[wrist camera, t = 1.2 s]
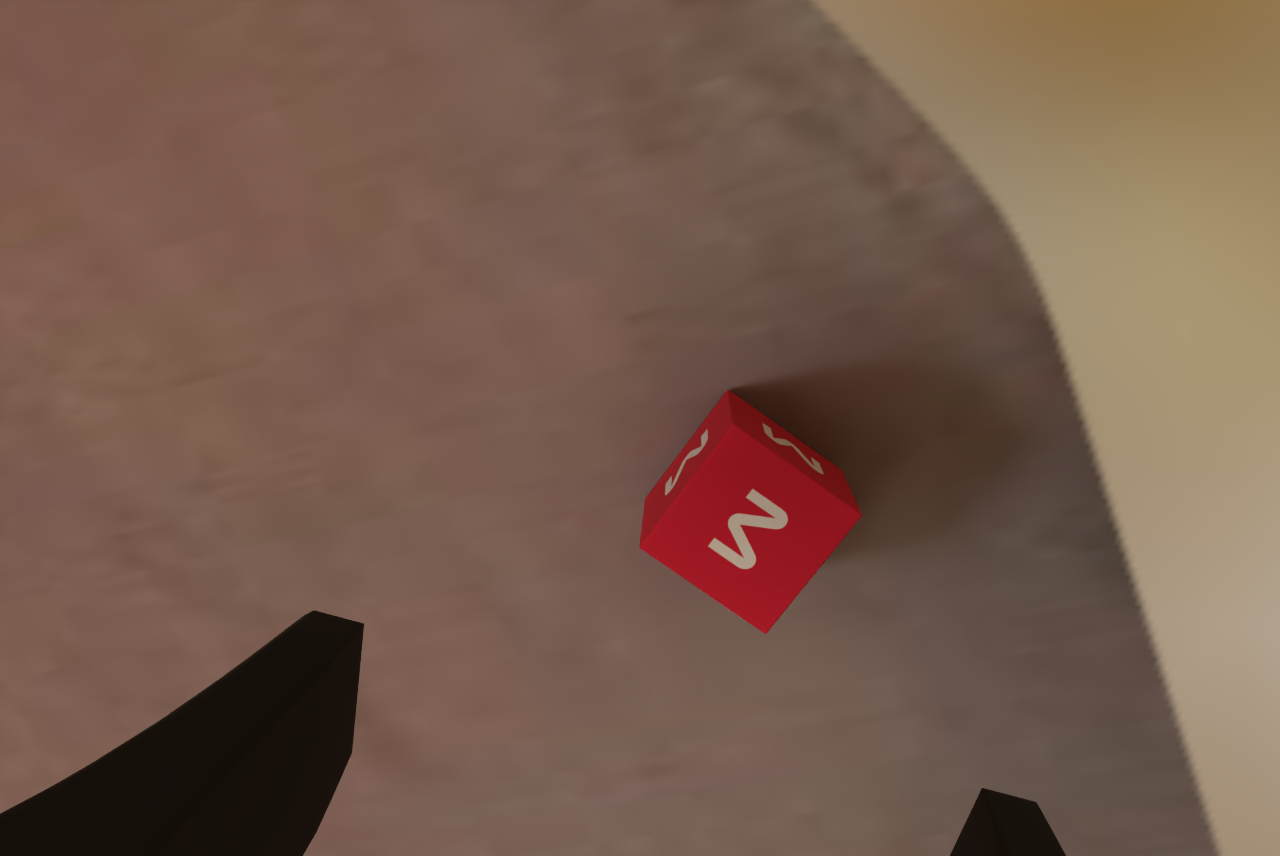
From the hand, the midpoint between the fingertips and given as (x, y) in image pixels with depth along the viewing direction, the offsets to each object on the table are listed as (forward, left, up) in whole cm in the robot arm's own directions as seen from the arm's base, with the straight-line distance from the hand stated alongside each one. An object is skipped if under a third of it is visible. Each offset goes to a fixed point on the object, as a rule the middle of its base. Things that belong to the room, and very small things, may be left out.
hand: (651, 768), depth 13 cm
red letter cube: (0, -2, -12) cm, 12 cm away
